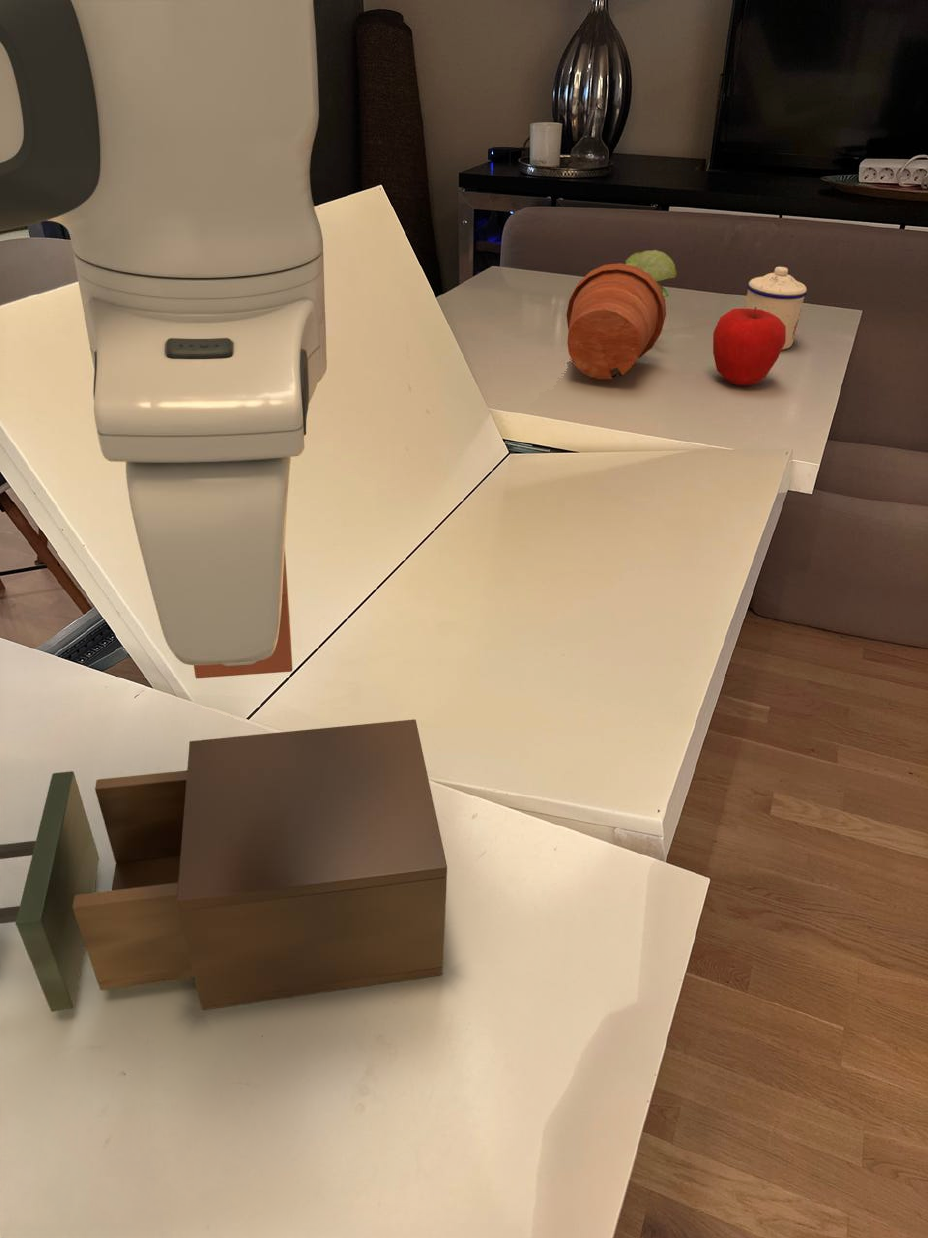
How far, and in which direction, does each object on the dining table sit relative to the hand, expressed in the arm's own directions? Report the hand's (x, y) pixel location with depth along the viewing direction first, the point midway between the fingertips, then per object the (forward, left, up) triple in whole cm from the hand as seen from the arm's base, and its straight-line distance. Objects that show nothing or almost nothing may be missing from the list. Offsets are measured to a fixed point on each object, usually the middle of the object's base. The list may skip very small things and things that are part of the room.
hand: (240, 619), depth 43 cm
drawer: (-8, 0, -21) cm, 23 cm away
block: (0, 0, -2) cm, 2 cm away
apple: (+68, +82, -22) cm, 109 cm away
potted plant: (+53, +97, -22) cm, 113 cm away
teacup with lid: (+80, +100, -22) cm, 130 cm away
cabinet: (+3, 0, -22) cm, 22 cm away
